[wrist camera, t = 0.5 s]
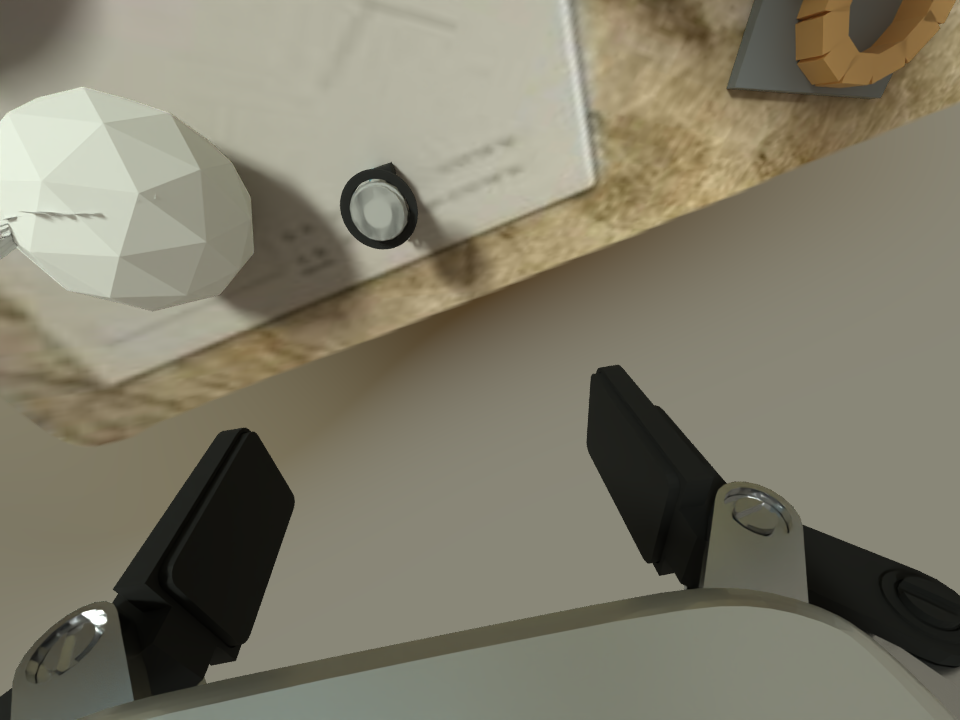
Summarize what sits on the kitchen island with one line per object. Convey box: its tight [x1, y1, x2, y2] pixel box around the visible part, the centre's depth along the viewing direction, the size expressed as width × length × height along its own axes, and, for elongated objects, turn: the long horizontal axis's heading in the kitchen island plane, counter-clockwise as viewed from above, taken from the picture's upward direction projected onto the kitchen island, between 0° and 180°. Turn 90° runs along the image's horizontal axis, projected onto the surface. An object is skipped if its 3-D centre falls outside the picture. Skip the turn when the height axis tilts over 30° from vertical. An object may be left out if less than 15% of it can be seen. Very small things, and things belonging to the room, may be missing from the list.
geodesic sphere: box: [0, 87, 254, 311], centre depth 26 cm, size 15×14×14 cm
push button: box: [340, 162, 418, 249], centre depth 30 cm, size 7×5×10 cm
